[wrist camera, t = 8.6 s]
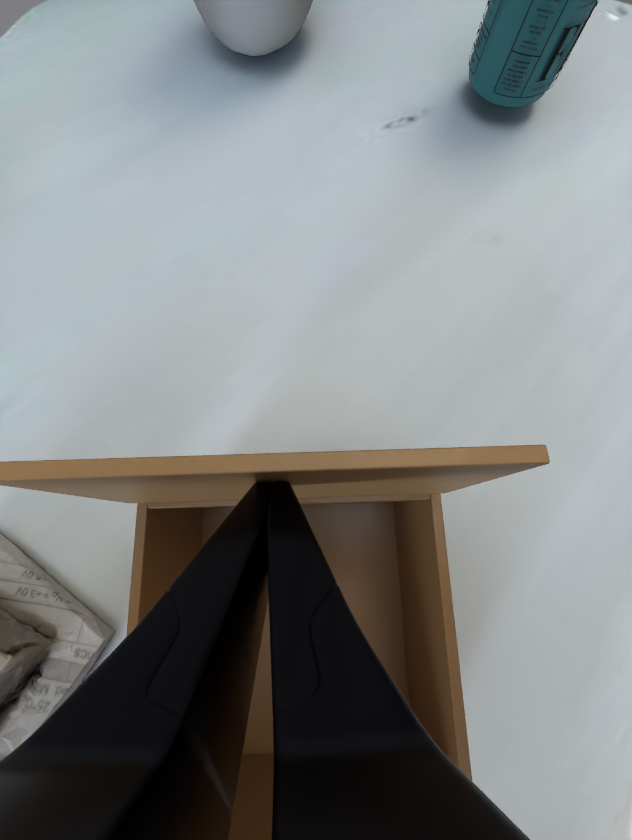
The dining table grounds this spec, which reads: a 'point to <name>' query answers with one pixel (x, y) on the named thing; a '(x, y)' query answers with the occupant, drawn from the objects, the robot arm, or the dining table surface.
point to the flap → (274, 473)
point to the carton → (367, 599)
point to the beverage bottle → (524, 47)
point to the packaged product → (39, 645)
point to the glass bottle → (254, 22)
